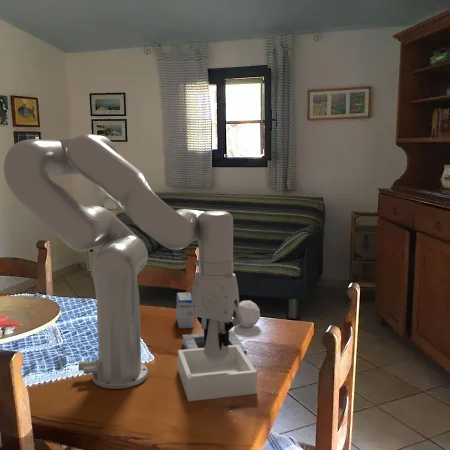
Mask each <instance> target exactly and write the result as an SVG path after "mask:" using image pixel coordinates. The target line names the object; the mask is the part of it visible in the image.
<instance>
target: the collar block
mask: <svg viewBox="0 0 450 450" xmlns="http://www.w3.org/2000/svg"><path fill="white" fill-rule="evenodd" d="M182 345H183V348H184V350H186V349H197V348H199V347H200V346H203V347H204V346H205V341H204V332H202V333H191V334H190V333H189V334H182ZM230 345H239V346H240V347H241V349H242V350H243V352H244V353H245V355H246V356H247V355H248V354H247V351H248V350H246V348H245V347H244V345H243V344H242V342H241V341H240V340H239V337H237V335H236V333H235V332H234V331H233V330H229V344H228V346H230ZM247 357H248V356H247Z"/></svg>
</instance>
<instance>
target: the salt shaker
mask: <svg viewBox="0 0 450 450" xmlns="http://www.w3.org/2000/svg"><path fill="white" fill-rule="evenodd" d="M207 330H208V334H207V339H206V344H205V345H203V348H204V355H205V357H206V359H207V361H208V362H209V364H211V365H221V364H224V363H225V361H226V359H227V357H228V355H229V347H228V346H224V345H223V342H222V347H221V350H220V347H219V339H218V334H219V333H221V331H220V321H215V320H210V319H209V322H208V328H207Z"/></svg>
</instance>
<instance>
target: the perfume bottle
mask: <svg viewBox="0 0 450 450" xmlns="http://www.w3.org/2000/svg"><path fill="white" fill-rule="evenodd" d="M239 313H240V315H241V317H242V320H243V323H241V324H240V325H239V326H241V327H242V328H252V327H254V326H255V325H257V323H258V321H259V320H260V319H261V313H260V308H259V306H258V305H257V304H256V303H255V302H253V301H252V300H242V301H239ZM233 320H234V318H233V317H232V319H231V321H233ZM234 328H236V329H237V326H235V327H234Z"/></svg>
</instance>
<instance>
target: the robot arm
mask: <svg viewBox="0 0 450 450" xmlns="http://www.w3.org/2000/svg"><path fill="white" fill-rule="evenodd" d="M3 163H4V165H3V172H4V173H3V174H4V178H5V182H6V184H7V187H8V188H9V190H10V192H11V193H12V194H13V196H14V197H15V198H16V199H17V200H18V201H19V202H20V203H21V204H22V205H23V206H24V207H25V208H26V209H28V211H30V212H31V213H32V214H33V215H35V216H36V217H37V218H38V219H39V220H40V221H41V222H42V224H44V225H45V226H46V227H47V228H48V229H49V230H51V232H52V233H53V234H55V235H56V236H57V237H58V239H60V240H62V242H63V243H64V244H65V245H67V247H69V248H70V249H72V250H74V251H76V252H78V253H79V252H80V253H81V252H83V253H84V252H88V251H90V250H93V249H94V250H96V251H97V253H96V255H95V257H94V259H93V261H92V267H91V269H92V270H91V272H92V273H91V274H92V279H93V284H94V285H93V286H94V289H95V298H96V299H95V300H96V319H97V322H96V323H97V344H98V345H97V349H98V350H97V352H98V354H97V356H96V357H97V358H96V359H92V361H79V362H78V371H83V375H88V374H92V375H91V377H92V379H91V380H92V382H93V383H94V384H95V385H96V386H98V387H101V388H102V389H103V388H104V389H108V390H109V389H110V390H120V389H121V390H122V389H127V388H132V387H134V386H138V385H139V384H141V383H143V382H144V381H145V380H146V379H147V378H148V375H149V370H148V369H149V368H148V367H147V366H146V365H145V364H144V363H142V357H141V356H142V351H141V348H142V347H141V346H142V345H141V311H140V309H141V308H140V305H141V303H140V293H139V292H140V291H139V286H138V275H139V273H140V272H141V271H142V270H143V269H144V268H145V267H146V265H147V262H148V258H149V253H148V249H147V246H146V244H145V243H144V242H143V240H142V239H141V238H140V237H139V236H138V235H136V234H135V232H133V231H132V230H131V229H130V228H129V227H128V226H127V225H125V223H124V222H123V221H122V220H120V219H119V218H118V217H117V216H116V215H115V214H114V213H113V212H112V211H110V210H109V209H107V208H105V207H103V206H100V205H92V204H91V205H87V206H85V205H83V204H81V202H79V201H78V200H77V199H76V198H75V197H74V196H72V195H71V194H70V193H69V192H68V191H67V190H66V189H64V188H63V187H62V186H61V185H59V184H58V183H56V182H55V181H54V180H52V179H51V177H59V176H68V175H81V176H82V177H83V178H85V179H87V180H88V181H89V182H90V183H91V184H93V185H94V186H95V187H97V188H98V189H100V190H101V192H102V193H103V192H104V193H105V194H106V195H107V196H108V197H110V198H111V199H112V200H113V201H115V202H116V203H117V204H118V205H119V207H120V208H121V210H122V211H123V212H124V213H125V214H126V215H127V217H128V218H129V219H130V220H131V221H132V222H133V223H134V225H136V226H137V227H138V228H139V229H140V230H142V231H143V232H144V233H146V234H147V235H149V237H150V238H152V239H153V240H155V241H156V242H158V243H159V244H160V245H161V246H163V247H164V248H167V249H169V250H174V251H175V250H176V251H177V250H179V251H180V250H183V249H185V248H187V247H188V246H189V245H190V244H191V243H193V242H194V241H197V242H198V259H195V261H194V265H195V266H198V271H196V272H195V275H194V280H193V284H192V285H193V286H192V293H191V296H192V311H191V314H192V315H193V318H196V319H197V321H198V323H199V324H200V325H201V326H200V327H201V328H202V329H201V330H203V333H204V341H205V344H206V339H207V334H208V330H207V328H208V322H209V319H210V320H215V321H220V331H221V333H219V334H218V339H219V347H220V350H221V347H222V342H223V345H224V346H228V344H229V331H232V329H233V328H236V327H237V326H240V324H241V323H243V320H242V317H241V315H240V313H239V303H240V295H239V294H240V293H239V287H238V280H237V275H236V274H235V273H234V217H233V215H232V214H231V213H230V212H228V211H224V210H207V211H202V210H195V209H189V208H180V209H176V210H175V209H174V208H172V207H171V206H169V204H167V203H166V202H165V201H164V200H162V198H160V197H159V196H158V195H157V194H156V193H155V192H154V191H153V189H152V188H151V187H150V186H149V183H148V181H147V178H146V176H145V174H144V173H143V172H142V171H141V170H140V169H139V168H137V167H136V166H135V165H133V164H132V163H131V162H129V161H128V160H127V159H125V158H124V157H123V156H122V155H120V154H119V153H118V151H117V148H116V145H115V144H114V143H113V142H112V141H111V140H110V139H109V138H108V137H106V136H103V135H100V134H92V133H91V134H90V133H86V134H85V133H83V134H80V135H78V136H77V135H76V137H74V138H63V139H61V138H60V139H41V138H40V139H37V138H33V139H31V138H29V139H24V140H21V141H18V142H16V143H14V144H12V146H11V147H10V148H9V149H8V151H7V152H6V155H5V157H4V162H3ZM233 318H234V320H233V321H231V319H233ZM235 326H236V327H235Z"/></svg>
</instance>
